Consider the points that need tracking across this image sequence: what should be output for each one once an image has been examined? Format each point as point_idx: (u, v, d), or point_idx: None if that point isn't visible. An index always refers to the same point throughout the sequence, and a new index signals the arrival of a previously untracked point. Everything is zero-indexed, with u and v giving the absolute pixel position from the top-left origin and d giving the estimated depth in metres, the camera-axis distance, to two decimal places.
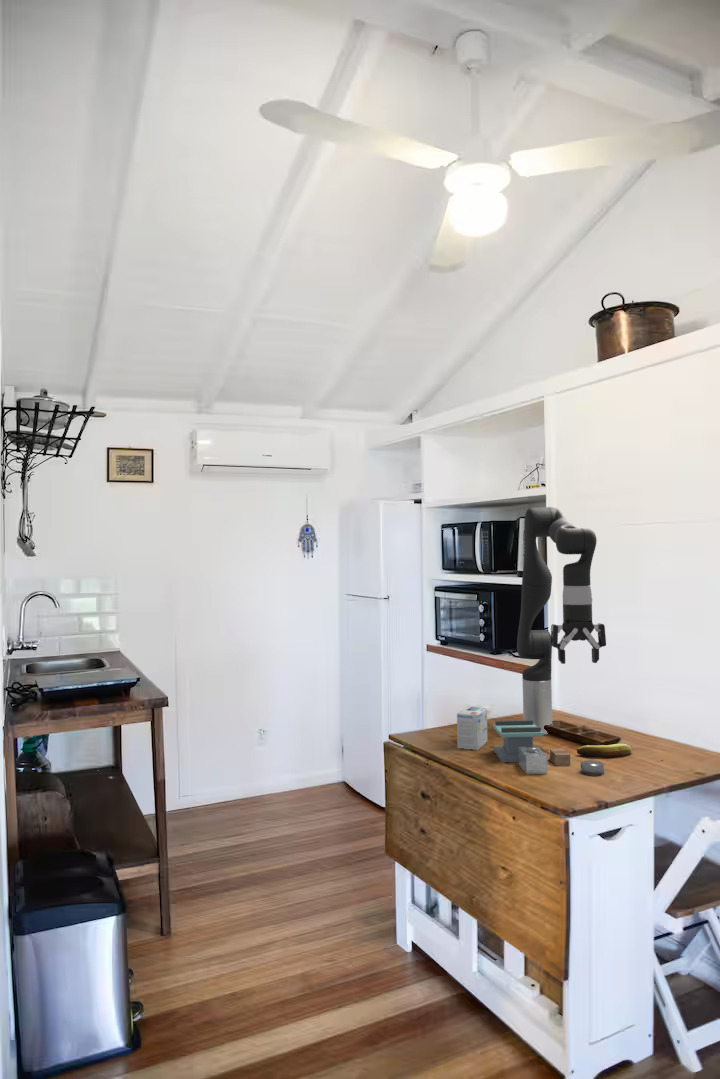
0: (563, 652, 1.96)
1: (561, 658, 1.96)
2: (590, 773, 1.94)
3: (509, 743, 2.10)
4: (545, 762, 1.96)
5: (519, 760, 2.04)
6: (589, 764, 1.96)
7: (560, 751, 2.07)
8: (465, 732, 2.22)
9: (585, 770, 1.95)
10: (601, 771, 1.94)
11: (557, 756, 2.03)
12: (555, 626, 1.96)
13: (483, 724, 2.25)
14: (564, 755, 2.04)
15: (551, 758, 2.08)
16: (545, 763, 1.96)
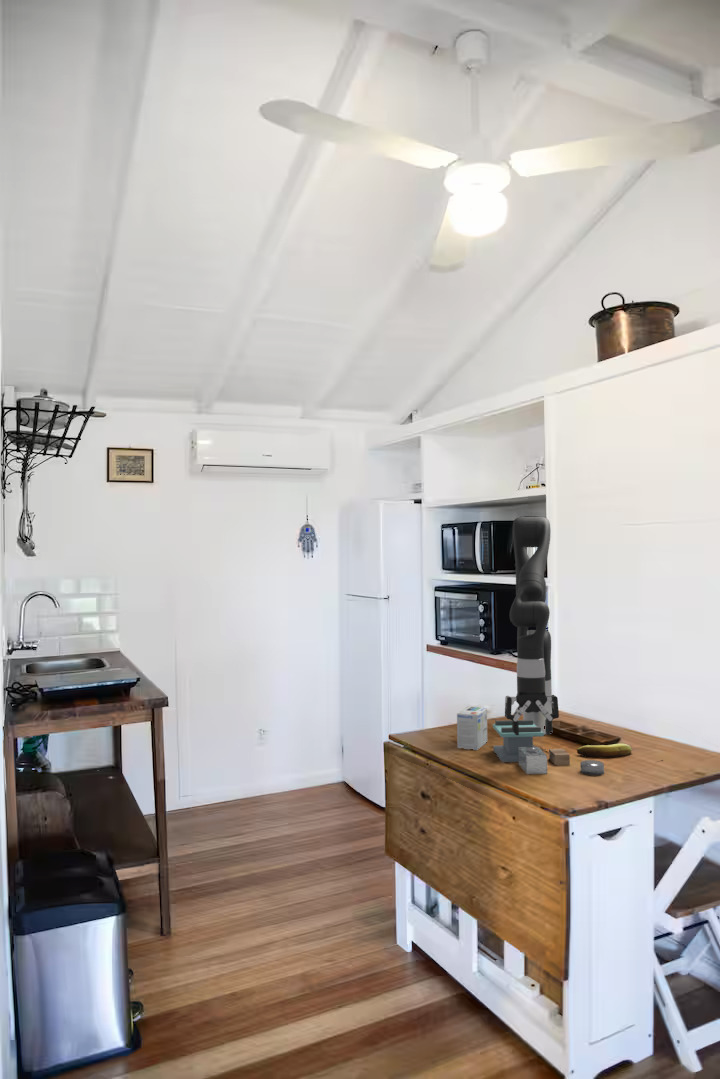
0: (516, 724, 1.99)
1: (515, 730, 1.99)
2: (590, 773, 1.94)
3: (509, 743, 2.10)
4: (545, 762, 1.96)
5: (519, 760, 2.04)
6: (589, 764, 1.96)
7: (559, 751, 2.07)
8: (465, 732, 2.22)
9: (585, 771, 1.95)
10: (601, 771, 1.94)
11: (556, 756, 2.03)
12: (509, 698, 1.99)
13: (483, 724, 2.25)
14: (563, 755, 2.04)
15: (550, 758, 2.08)
16: (545, 763, 1.96)
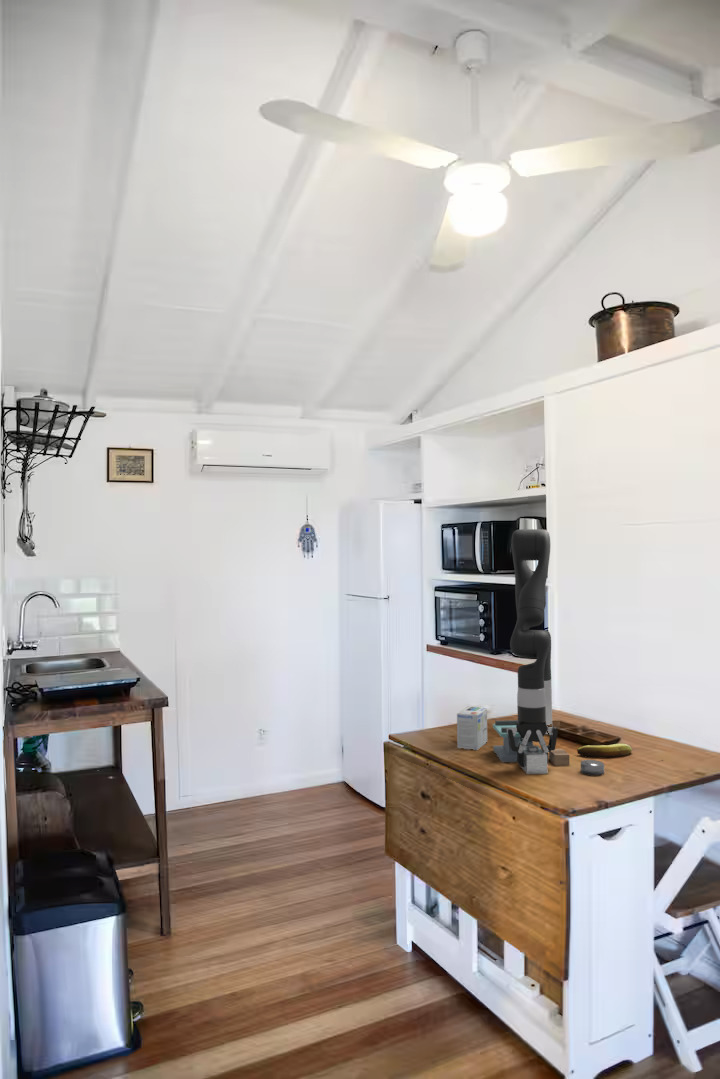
0: (522, 756, 1.99)
1: (520, 761, 2.00)
2: (591, 773, 1.94)
3: None
4: (545, 761, 1.96)
5: None
6: (590, 764, 1.96)
7: (559, 751, 2.07)
8: (465, 732, 2.22)
9: (586, 770, 1.95)
10: (602, 771, 1.94)
11: (556, 756, 2.03)
12: (509, 731, 1.99)
13: (483, 724, 2.25)
14: (563, 755, 2.03)
15: (550, 758, 2.08)
16: (545, 762, 1.96)
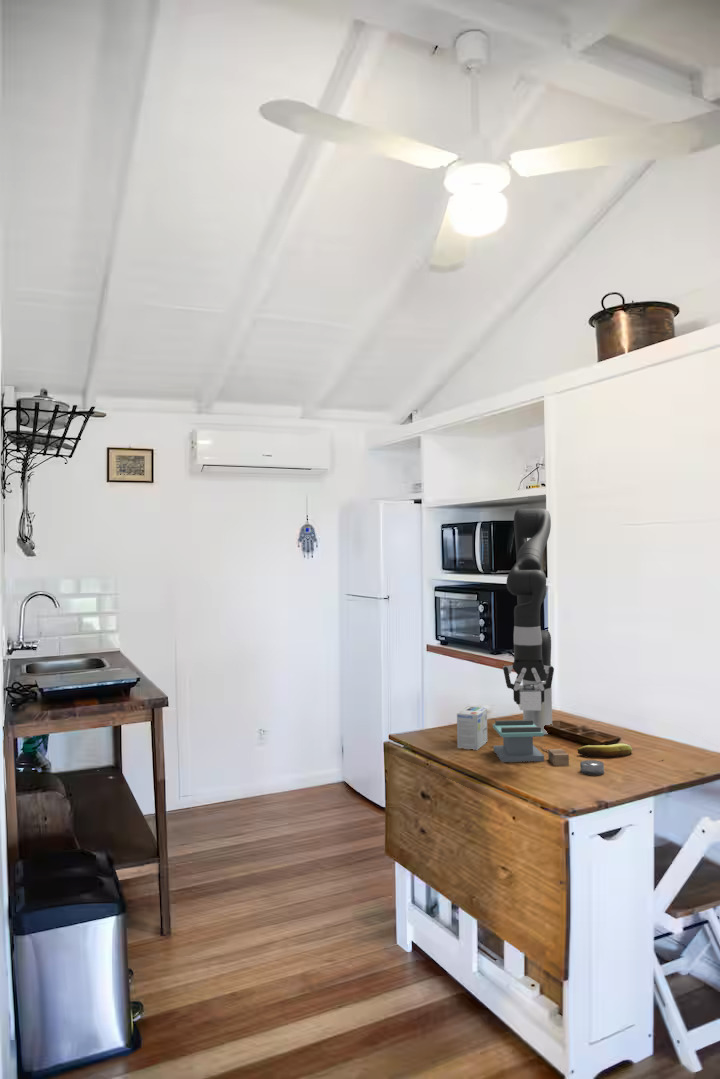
0: (517, 693, 2.02)
1: (515, 699, 2.02)
2: (594, 773, 1.94)
3: (509, 743, 2.10)
4: (539, 698, 1.98)
5: None
6: (590, 764, 1.95)
7: (558, 751, 2.07)
8: (465, 732, 2.22)
9: (588, 771, 1.94)
10: (603, 769, 1.95)
11: (555, 756, 2.03)
12: (505, 668, 2.02)
13: (483, 724, 2.25)
14: (562, 755, 2.03)
15: (550, 758, 2.08)
16: (539, 699, 1.98)
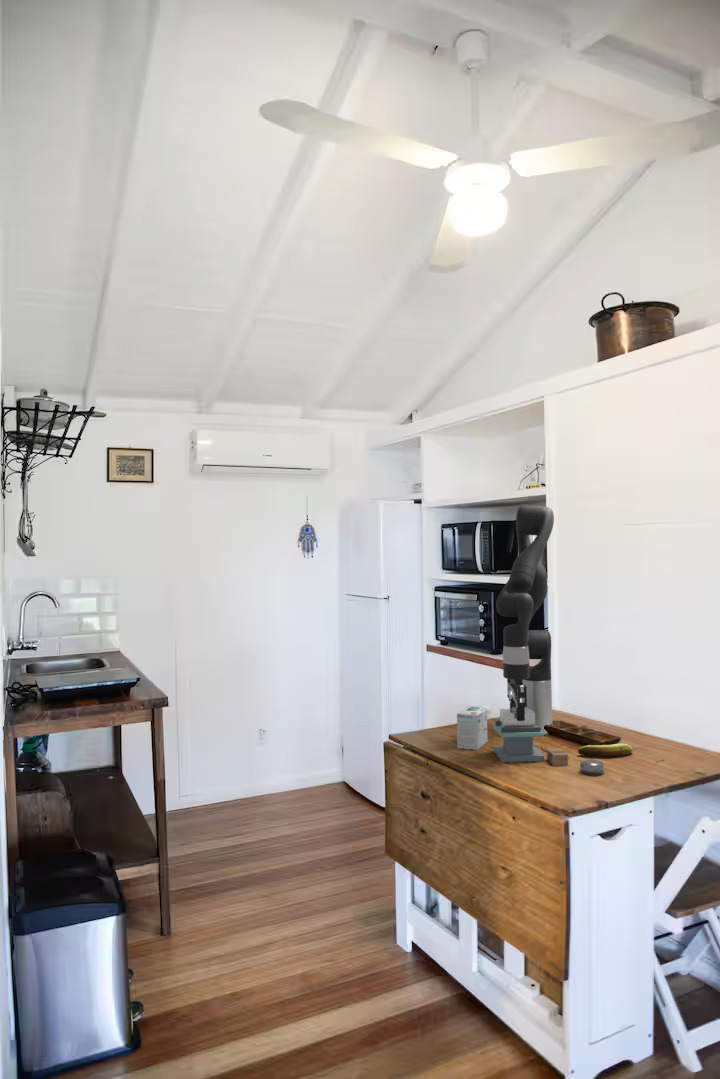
0: (510, 704, 2.18)
1: None
2: (597, 773, 1.94)
3: (509, 743, 2.10)
4: (503, 719, 2.11)
5: None
6: (592, 764, 1.95)
7: (557, 751, 2.06)
8: (465, 732, 2.22)
9: (592, 771, 1.94)
10: (603, 769, 1.96)
11: (554, 756, 2.03)
12: (507, 679, 2.20)
13: (483, 724, 2.25)
14: (561, 755, 2.03)
15: (548, 758, 2.08)
16: (503, 720, 2.11)
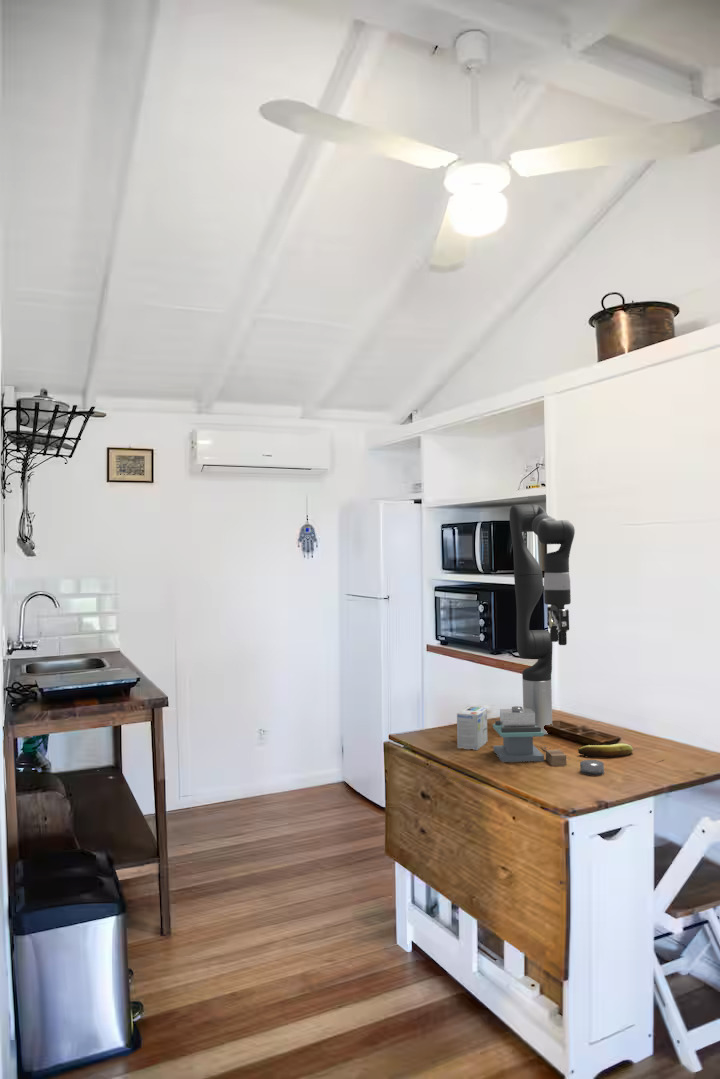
0: (550, 631, 2.21)
1: None
2: (600, 772, 1.94)
3: (509, 743, 2.10)
4: (503, 719, 2.11)
5: None
6: (593, 764, 1.95)
7: (556, 752, 2.06)
8: (465, 732, 2.22)
9: (595, 771, 1.94)
10: None
11: (553, 757, 2.03)
12: (547, 607, 2.23)
13: (483, 724, 2.25)
14: (560, 756, 2.03)
15: (547, 759, 2.08)
16: (503, 720, 2.11)
